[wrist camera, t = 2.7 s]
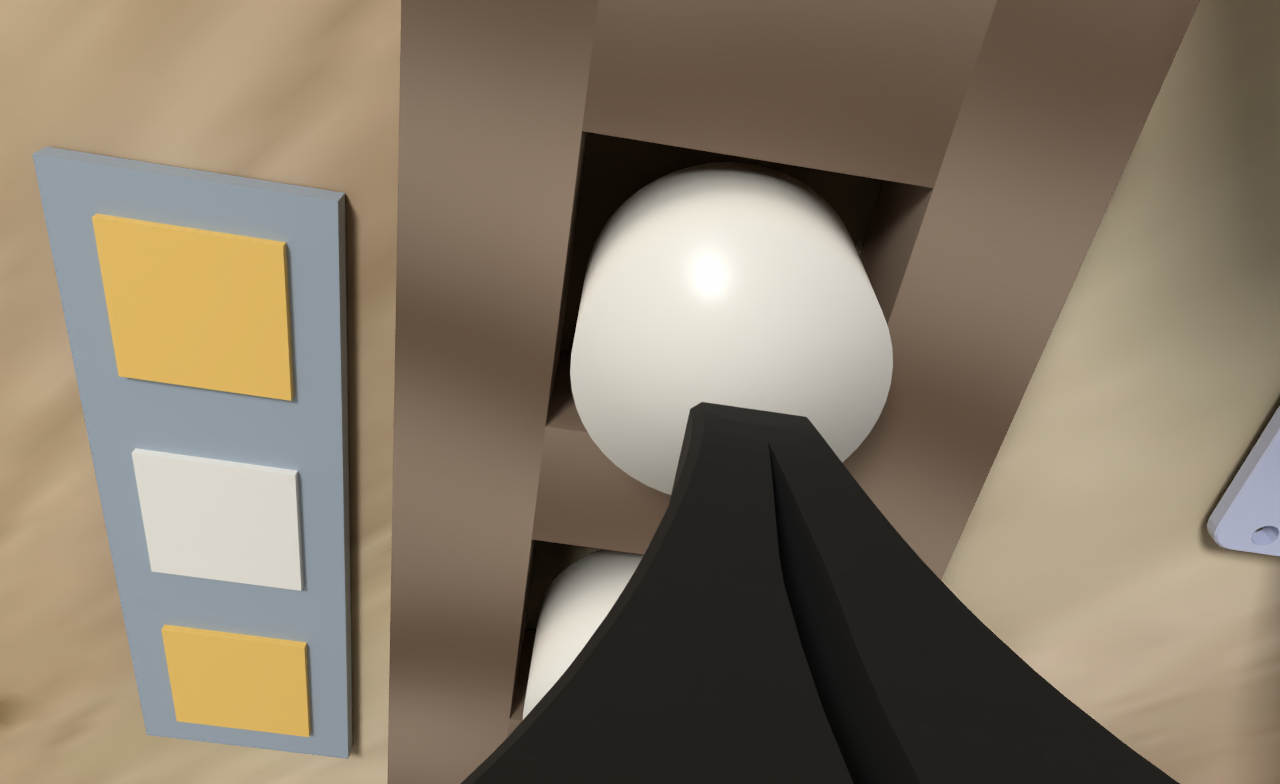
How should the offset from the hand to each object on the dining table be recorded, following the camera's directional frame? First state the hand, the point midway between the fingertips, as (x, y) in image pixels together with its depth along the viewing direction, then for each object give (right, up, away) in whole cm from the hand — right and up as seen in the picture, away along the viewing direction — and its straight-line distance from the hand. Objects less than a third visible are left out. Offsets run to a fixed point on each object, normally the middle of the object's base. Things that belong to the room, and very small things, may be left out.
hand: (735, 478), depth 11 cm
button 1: (0, +3, +4) cm, 5 cm away
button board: (-1, -3, +10) cm, 10 cm away
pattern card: (-10, -1, +9) cm, 13 cm away
